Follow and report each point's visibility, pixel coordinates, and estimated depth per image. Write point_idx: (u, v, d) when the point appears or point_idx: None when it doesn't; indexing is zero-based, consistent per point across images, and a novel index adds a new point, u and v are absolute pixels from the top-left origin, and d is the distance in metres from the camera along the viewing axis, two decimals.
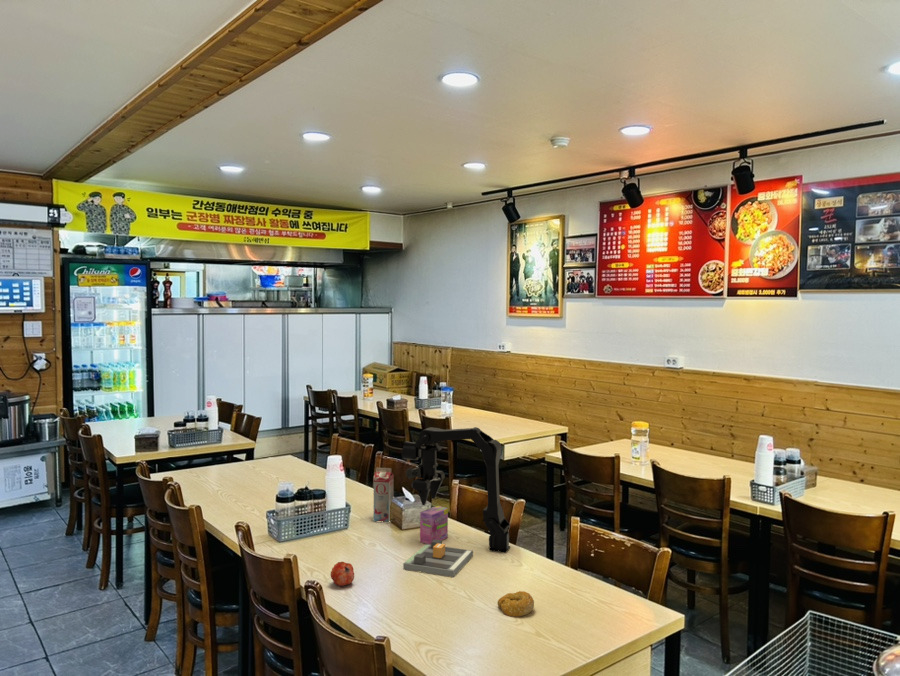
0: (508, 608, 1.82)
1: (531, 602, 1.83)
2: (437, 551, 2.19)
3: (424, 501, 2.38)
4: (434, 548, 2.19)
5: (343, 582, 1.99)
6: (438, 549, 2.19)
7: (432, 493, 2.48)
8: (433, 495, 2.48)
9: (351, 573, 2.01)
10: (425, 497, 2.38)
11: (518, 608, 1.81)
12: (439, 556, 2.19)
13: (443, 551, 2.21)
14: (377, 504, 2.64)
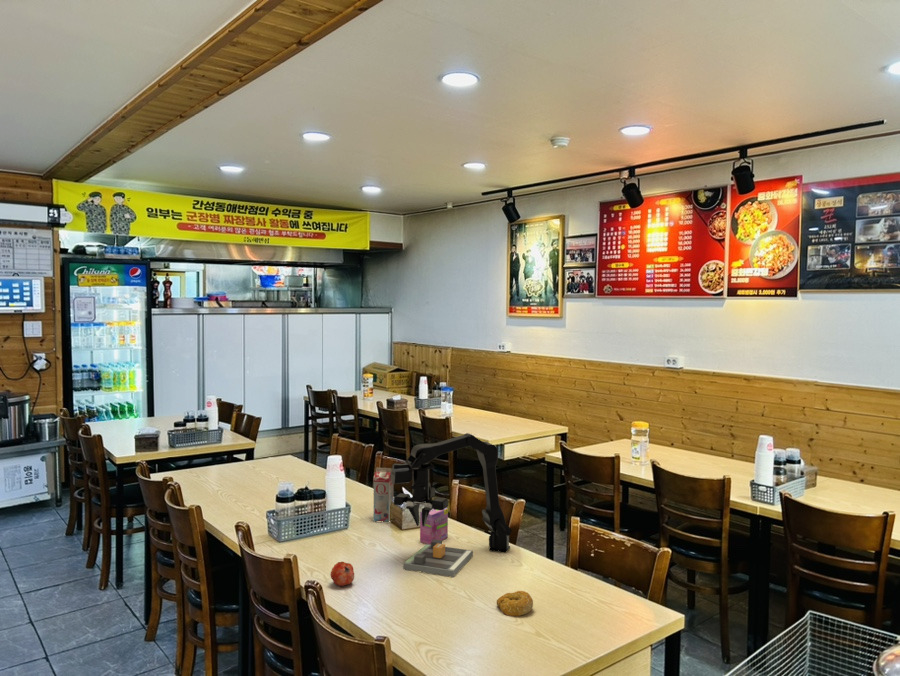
0: (507, 607, 1.82)
1: (530, 601, 1.83)
2: (437, 551, 2.19)
3: None
4: (434, 548, 2.19)
5: (343, 582, 1.99)
6: (438, 549, 2.19)
7: None
8: None
9: (351, 573, 2.01)
10: None
11: (517, 607, 1.81)
12: (439, 556, 2.19)
13: (443, 551, 2.21)
14: (377, 504, 2.64)
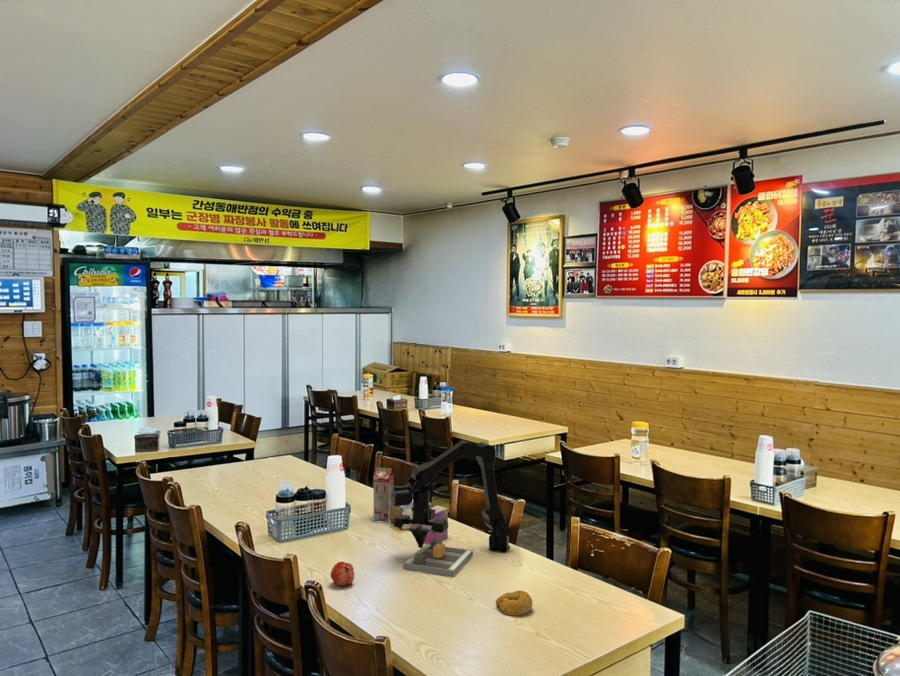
0: (507, 607, 1.82)
1: (529, 601, 1.83)
2: (437, 551, 2.19)
3: None
4: (434, 548, 2.19)
5: (343, 582, 1.99)
6: (438, 549, 2.19)
7: None
8: None
9: (351, 573, 2.01)
10: None
11: (516, 607, 1.81)
12: (439, 556, 2.19)
13: (443, 551, 2.21)
14: (377, 504, 2.64)
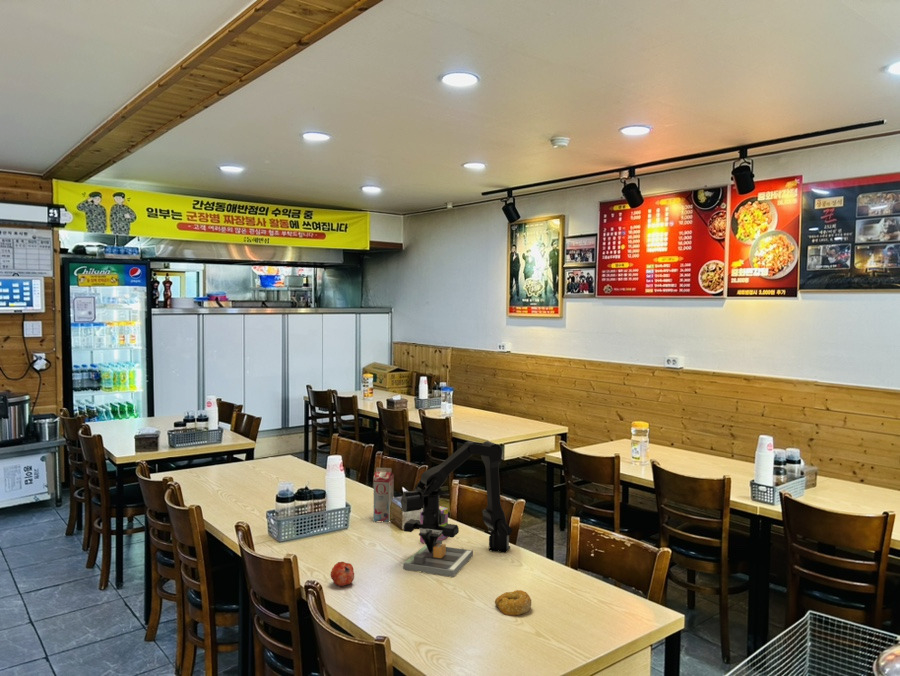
0: (506, 607, 1.82)
1: (528, 601, 1.84)
2: (437, 551, 2.19)
3: None
4: (434, 548, 2.19)
5: (343, 582, 1.99)
6: (438, 549, 2.19)
7: None
8: None
9: (351, 573, 2.01)
10: None
11: (515, 607, 1.81)
12: (439, 556, 2.19)
13: (443, 551, 2.21)
14: (377, 504, 2.64)
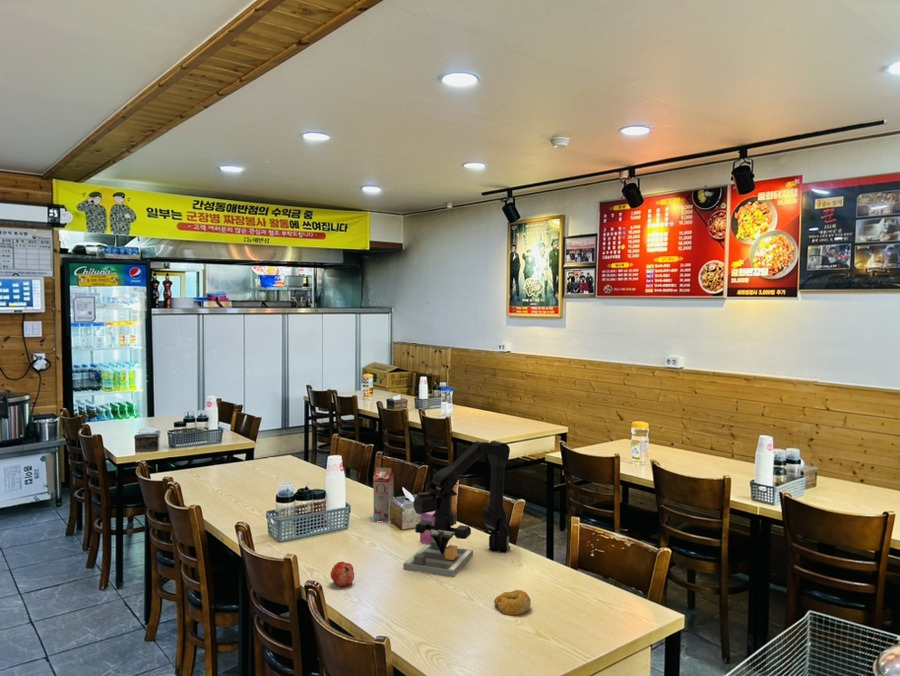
0: (505, 606, 1.83)
1: (528, 601, 1.84)
2: (449, 553, 2.17)
3: None
4: (446, 550, 2.18)
5: (343, 582, 1.99)
6: (450, 551, 2.17)
7: None
8: None
9: (351, 573, 2.01)
10: None
11: (515, 606, 1.82)
12: (451, 558, 2.17)
13: (455, 553, 2.19)
14: (377, 504, 2.64)
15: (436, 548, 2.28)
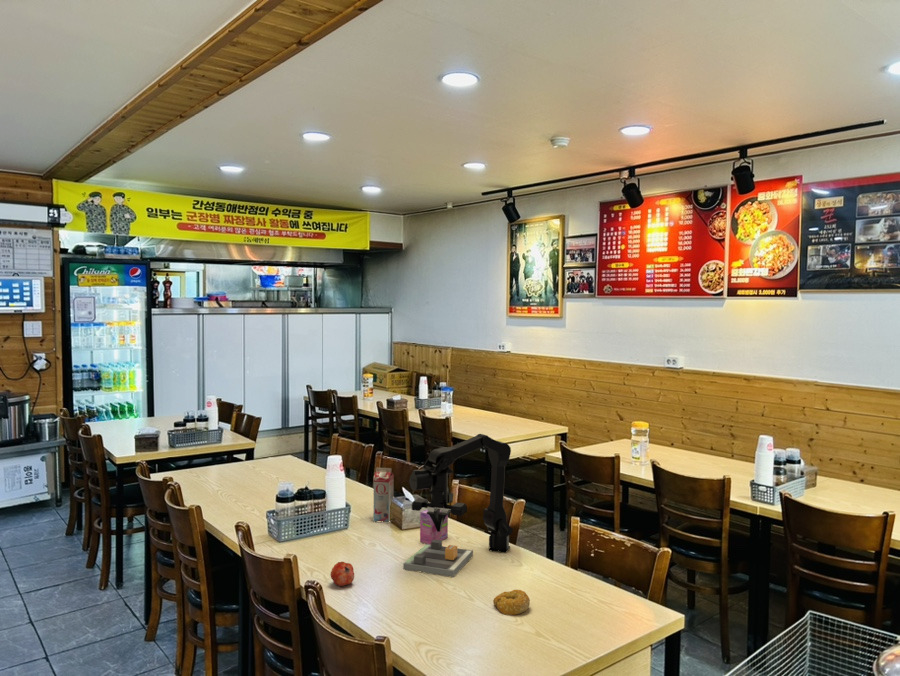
0: (504, 606, 1.83)
1: (527, 600, 1.84)
2: (449, 553, 2.17)
3: None
4: (446, 550, 2.18)
5: (343, 582, 1.99)
6: (450, 551, 2.17)
7: None
8: None
9: (351, 573, 2.01)
10: None
11: (514, 606, 1.82)
12: (451, 558, 2.17)
13: (455, 553, 2.19)
14: (377, 504, 2.64)
15: (436, 548, 2.28)
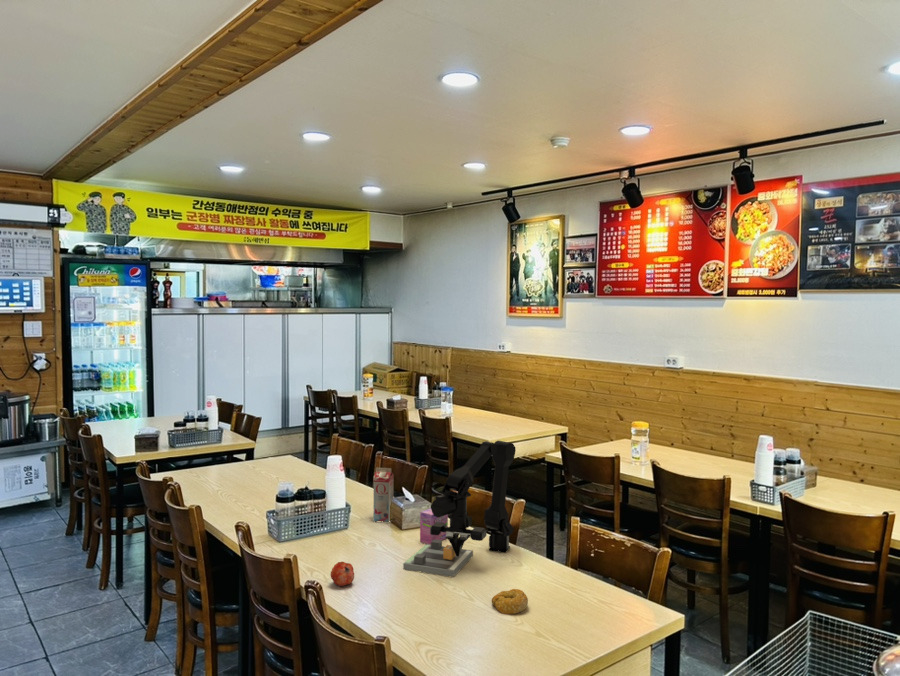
0: (503, 605, 1.83)
1: (525, 599, 1.85)
2: (447, 553, 2.18)
3: None
4: (444, 549, 2.18)
5: (343, 582, 1.99)
6: (448, 550, 2.17)
7: None
8: None
9: (351, 573, 2.01)
10: None
11: (512, 605, 1.82)
12: (449, 558, 2.17)
13: (453, 552, 2.19)
14: (377, 504, 2.64)
15: (436, 548, 2.28)
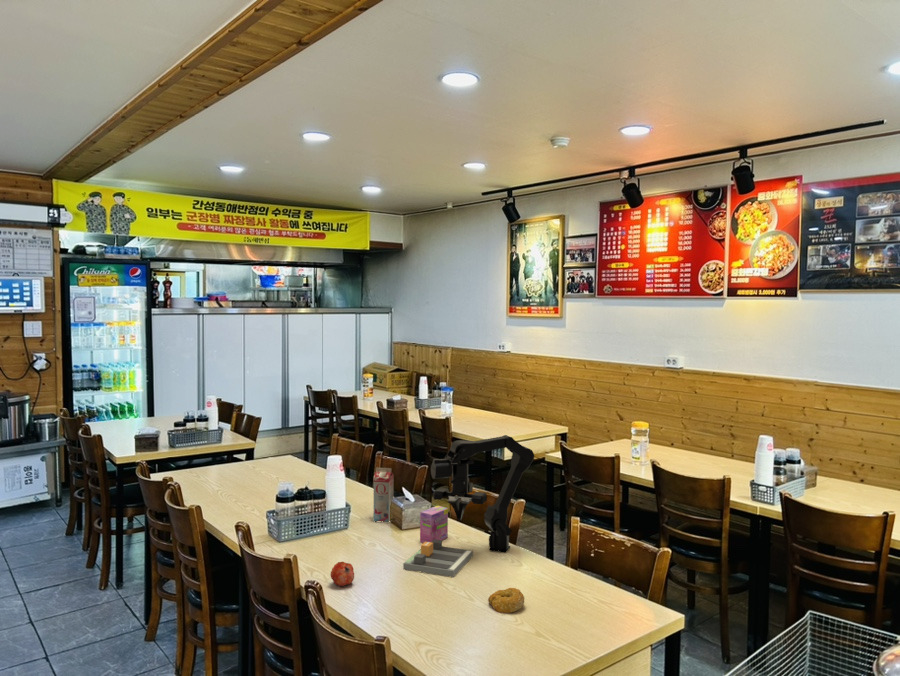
0: (499, 604, 1.84)
1: (522, 598, 1.85)
2: (425, 549, 2.21)
3: None
4: (422, 546, 2.21)
5: (343, 582, 1.99)
6: (426, 547, 2.20)
7: None
8: None
9: (351, 573, 2.01)
10: None
11: (509, 604, 1.83)
12: (427, 554, 2.20)
13: (431, 549, 2.22)
14: (377, 504, 2.64)
15: (436, 548, 2.28)
